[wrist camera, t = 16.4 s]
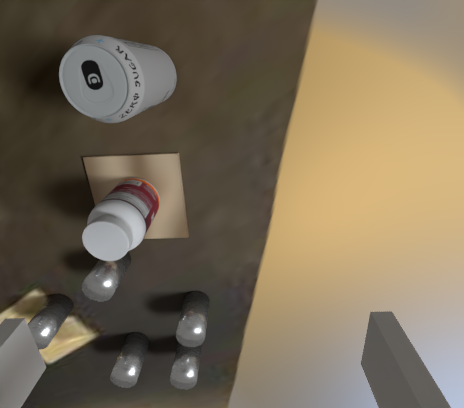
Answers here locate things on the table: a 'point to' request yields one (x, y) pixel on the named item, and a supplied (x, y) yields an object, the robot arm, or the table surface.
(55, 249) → the table surface
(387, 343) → the robot arm
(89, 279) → the cylinder
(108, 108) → the energy drink can
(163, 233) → the coaster
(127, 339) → the cylinder
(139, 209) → the pill bottle
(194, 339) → the cylinder
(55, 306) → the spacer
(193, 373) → the grey cylinder
